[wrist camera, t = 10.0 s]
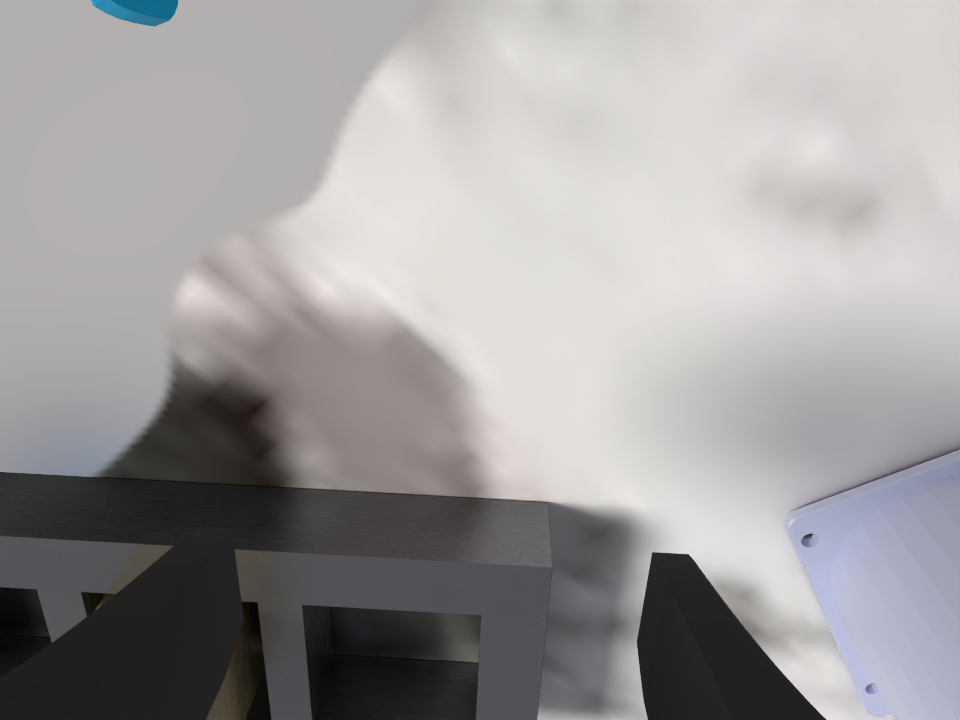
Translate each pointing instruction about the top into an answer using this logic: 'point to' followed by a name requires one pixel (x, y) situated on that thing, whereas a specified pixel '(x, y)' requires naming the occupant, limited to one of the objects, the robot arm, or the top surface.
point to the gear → (139, 10)
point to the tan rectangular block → (238, 668)
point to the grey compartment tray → (305, 582)
